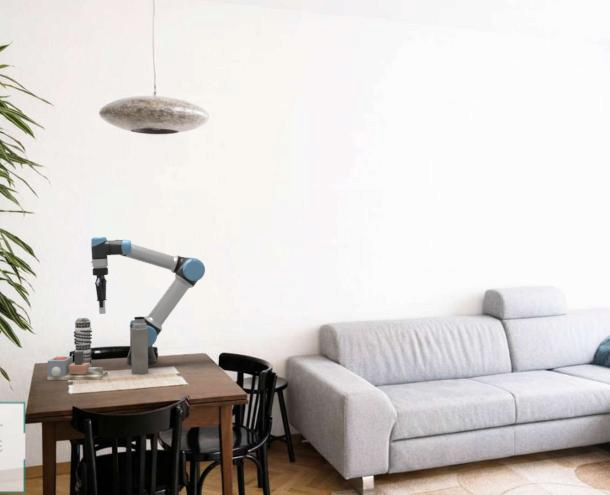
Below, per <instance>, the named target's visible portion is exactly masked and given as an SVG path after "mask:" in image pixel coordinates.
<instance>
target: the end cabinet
mask: <svg viewBox="0 0 610 495" xmlns="http://www.w3.org/2000/svg"><path fill="white" fill-rule="evenodd" d="M56 357H57V356H55V357H53V358H51V359H49V360H47V377H65V376H67V375H68V374H69V369H68V366H69V365H70V364H72V363H74V362H73V360H74V359H73V356H65V357H66V359H65V360H55V358H56Z"/></svg>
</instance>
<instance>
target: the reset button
mask: <svg viewBox="0 0 610 495" xmlns="http://www.w3.org/2000/svg"><path fill="white" fill-rule="evenodd" d="M55 357H56V358H55ZM55 357H54V358H55V360H65V359H66V357H67V356H55Z"/></svg>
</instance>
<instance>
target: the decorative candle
mask: <svg viewBox="0 0 610 495" xmlns="http://www.w3.org/2000/svg"><path fill="white" fill-rule="evenodd" d="M91 321H92V320H90V319H89V318H88V317H81V318H80V317H79V318H77V319H76V320H75V321H74V325H75V326H74V332H73V340H74V342H73V343H74V345H75V349H74V353H75V352H77V351H83V358H84V363H90V366H89V367H92V364H93V362H92V361H93V359H92V353H93V352H92V348H91V345H92V340H91V339H93V337H91V336H92V335H93V334H91V333H92V332H93V330H92V326H91ZM73 360H74V362H75V359H73Z"/></svg>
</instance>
